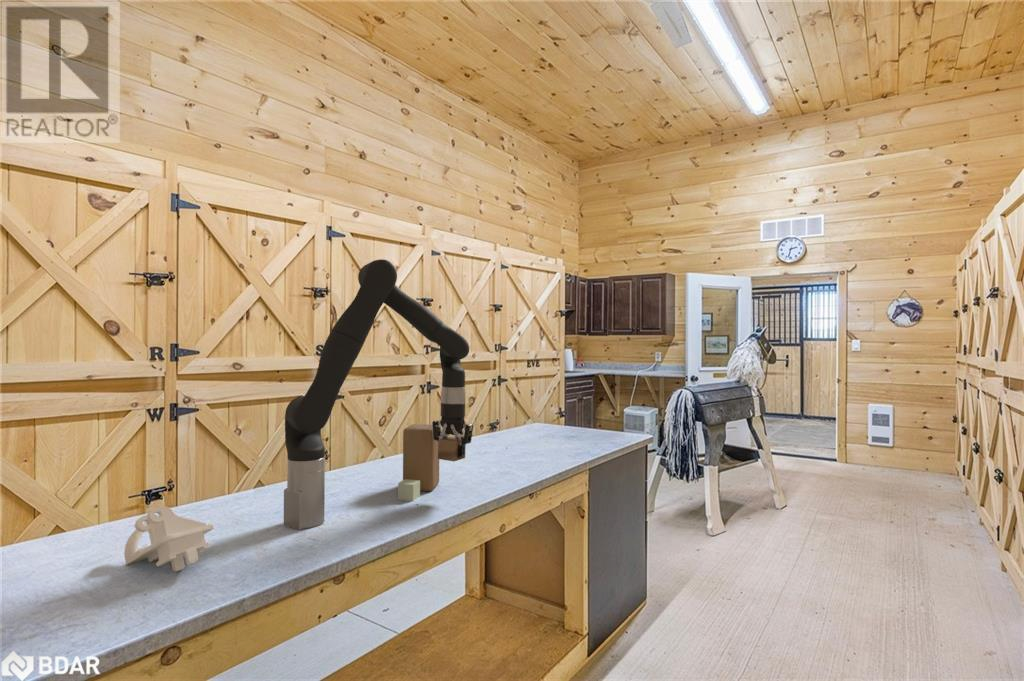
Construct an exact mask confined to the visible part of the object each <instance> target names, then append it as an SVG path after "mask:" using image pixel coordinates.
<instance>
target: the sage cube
mask: <svg viewBox="0 0 1024 681" xmlns="http://www.w3.org/2000/svg"><path fill="white" fill-rule="evenodd" d="M420 497H421V491H420V480H409V479H405V480H403V479H402V480H401V481H400V482H398V483H397V500H398V501H408V502H413V501H415V500H417V499H418V498H420Z"/></svg>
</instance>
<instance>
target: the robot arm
mask: <svg viewBox="0 0 1024 681" xmlns="http://www.w3.org/2000/svg"><path fill="white" fill-rule="evenodd" d="M357 280H358V284H359V289H358V291H357V293H356V295H355V297H354V299H353V300H352V302H351V303H350V304H349V305H348V307H347V308H346V309H345V311H344V312H343V313H342V314H341V315H340V316H339V318H338V320H337V321H335V324H334V325H333V327H332V328H331V331H330V333H329V334H328V337H327V338H326V340H325V341H324V344H323V347H322V350H321V353H320V358H319V361H318V367H317V370H316V373H315V377H314V379H313V380H312V383H311V385H310V386H309V388H308V390H307V391H306V392H305V394H304V395H300V396H296V397H295V398H293V399H292V400H291V401H290V402H289V403H288V404H287V405H286V406H287V407H286V409H285V414H284V440H285V442H284V443H285V444H284V445H285V447H286V453H287V454H286V455H287V459H286V460H287V461H286V462H287V465H286V466H287V468H286V471H287V473H286V474H287V475H286V477H287V480H286V481H287V482H286V484H287V485H286V486H287V487H286V488H284V489H283V526H285V527H287V528H293V529H296V530H299V531H300V530H303V529H307V528H308V529H309V528H313V527H317V526H320V525H322V524H323V523H324V522H325V496H326V494H325V492H326V491H325V488H326V487H325V485H326V484H325V482H326V481H325V480H326V479H325V478H326V476H325V475H326V472H325V471H326V447H325V445H324V443H323V438H322V429H323V428H324V427H325V426H326V424H327V423H328V422H329V418H330V417H331V414H332V411H333V408H334V405H335V403H336V400H337V398H338V395H339V393H340V390H341V389H342V386H343V384H344V382H345V380H346V379H347V377H348V376H349V373H350V372H351V369H352V368H353V365H354V364H355V362H356V359H357V358H358V357H359V354H360V352H361V350H362V348H363V347H364V344H365V342H366V340H367V337H368V335H369V333H370V331H371V329H372V327H373V325H374V323H375V320H376V318H377V315H378V313H379V311H380V309H381V308H382V306H383V305H384V304H385V305H386V306H388V308H391V310H393V311H394V312H395V313H397V314H398V315H399V316H401V318H403V319H404V320H405V321H406V322H408V323H409V324H410V325H411V326H412V327H413V328H415V329H416V330H417V331H418V333H419V334H421V335H422V336H423V337H424V338H425V339H427V340H428V341H430V342H431V343H434V344H437V346H439V361H440V366H441V370H442V372H441V374H442V376H441V377H442V378H441V379H442V380H441V393H440V418H441V419H440V420H437V419H436V420H432V424H431V425H433V436H434V440H437V441H438V439H443V438H447V437H450V435H451V436H453V437H455V438H456V439H457V440H458V444H459V446H458V458H462V457H463V456H464V455H465V456H466V447H465V445H467V444H471V443H472V438H473V431H474V430H473V429H474V424H472V423H466V421H465V416H466V371H465V370H464V368H463V367H462V364H461V363H462V362H461V360H463V359H465V358H466V357H468V355H469V354H470V345H469V343H468V341H467V339H466V338H465V337H464V336H463V335H462V334H460V333H459V332H457V331H456V330H454V329H453V328H452V327H450V326H448V325H447V324H445V322H444V321H443V320H441V319H440V317H439V316H438V315H436V314H435V313H434V312H433V311H432V310H430V309H429V308H428V307H427V306H426V305H424V304H422V303H421V302H419V301H417V300H416V299H414V298H412V297H411V296H409V295H408V294H407V293H406V292H404V291H403V290H401V288H399V287H398V285H397V284H396V283H397V280H398V271H397V269H396V266H395V265H394V264H393V262H391V261H389V260H387V259H383V258H382V259H375V260H372V261H370V262H368V263H366V264H364V265H363V266H362V267H361V268H360V270H359V272H358V274H357Z"/></svg>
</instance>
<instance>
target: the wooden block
mask: <svg viewBox="0 0 1024 681" xmlns="http://www.w3.org/2000/svg"><path fill="white" fill-rule="evenodd" d="M405 479H409V480H420V492H433V490H435V488H436V487H437V486H438V485H439V484H440V459H438V441H437V440H434V436H433V424H427V423H426V424H423V423H422V424H421V423H420V424H419V423H412V424H410V425H409V426H407V427H405V428H404V429H403V431H402V481H403V480H405Z"/></svg>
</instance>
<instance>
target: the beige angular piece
mask: <svg viewBox="0 0 1024 681" xmlns="http://www.w3.org/2000/svg"><path fill="white" fill-rule="evenodd" d="M157 514H158V515H157ZM143 522H144V523H143ZM214 527H215V526H214V525H213V524H206V522H202V521H199V520H194V519H190V518H186V517H182V516H179V515H177V514H175V513H174V511H173V510H172V508H170V507H169V506H166V505H159V506H155V507H154V508H152V509H151V510H149V511H148V512H147V514H145V515H142V516H141V517H139V518H138V519H137V520H136V521H135V523H134V528H135V530H134V531H133V532H132V533H131V534H130V536H129V537H128V539H127V540H126V543H125V546H124V553H123V554H124V560H125V565H126V566H129V565H132V564H134V563H138V562H141V561H145V560H147V561H148V563H151V562H155V561H157V560H158V561H157V562H156V564H155V565H156V567H157V568H158V567H161V566H163V565H165V564H167V563H169V562H170V565H171V568H172V571H173V572H176V573H177V572H178V571H182V570H184V569H185V567H186V566H185V563H186V564H187V565H188V566H189V565H191V564H195V563H197V562H198V561H199V553H201V552H203V551H205V550H207V549H208V548H210V543H209V542H206V538H205V534H207V533H209V532H211V531H212V530H214V529H215V528H214ZM146 532H147V533H148V534H149V541H150V544H149V545H148V546H144V547H141V548H138V546H139V541H140V539H141V537H142V535H143V534H144V533H146ZM184 559H185V560H184Z"/></svg>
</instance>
